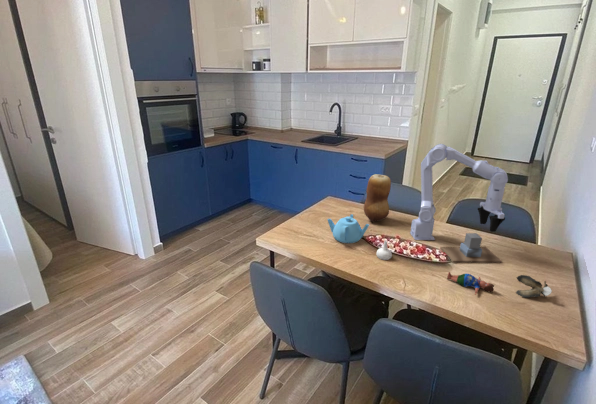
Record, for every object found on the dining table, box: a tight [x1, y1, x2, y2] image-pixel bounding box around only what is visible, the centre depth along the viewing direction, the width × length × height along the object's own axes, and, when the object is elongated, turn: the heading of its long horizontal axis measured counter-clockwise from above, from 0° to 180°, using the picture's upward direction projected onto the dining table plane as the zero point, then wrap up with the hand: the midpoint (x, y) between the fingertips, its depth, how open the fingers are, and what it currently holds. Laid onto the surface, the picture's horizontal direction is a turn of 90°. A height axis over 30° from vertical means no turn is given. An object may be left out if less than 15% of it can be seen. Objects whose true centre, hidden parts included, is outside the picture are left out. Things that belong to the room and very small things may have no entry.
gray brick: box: [463, 232, 483, 249], centre depth 133 cm, size 4×4×5 cm
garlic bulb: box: [375, 239, 393, 261], centre depth 133 cm, size 6×6×8 cm
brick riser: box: [439, 242, 503, 264], centre depth 135 cm, size 20×12×4 cm, turn 90°
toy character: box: [446, 271, 495, 295], centre depth 115 cm, size 12×5×15 cm
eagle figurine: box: [515, 274, 553, 299], centre depth 109 cm, size 8×7×9 cm
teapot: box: [327, 214, 370, 244], centre depth 150 cm, size 15×15×11 cm
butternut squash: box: [363, 173, 392, 222], centre depth 167 cm, size 14×13×25 cm
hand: (487, 227), depth 138 cm, fingers open, 7 cm apart
